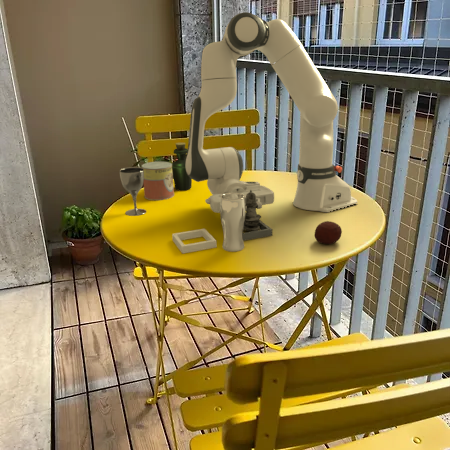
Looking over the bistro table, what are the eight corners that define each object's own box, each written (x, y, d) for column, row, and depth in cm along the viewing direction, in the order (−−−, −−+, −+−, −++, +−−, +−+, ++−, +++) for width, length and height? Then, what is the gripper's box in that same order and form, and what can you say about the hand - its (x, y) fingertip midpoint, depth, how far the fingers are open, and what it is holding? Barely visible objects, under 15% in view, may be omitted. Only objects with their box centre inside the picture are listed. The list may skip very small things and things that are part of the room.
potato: (347, 243, 128) (349, 223, 126) (326, 250, 124) (327, 230, 121) (329, 235, 134) (330, 216, 131) (307, 241, 130) (308, 222, 127)
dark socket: (257, 224, 143) (257, 218, 142) (272, 235, 134) (272, 229, 133) (228, 229, 139) (228, 223, 139) (241, 241, 131) (241, 234, 130)
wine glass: (127, 217, 151) (123, 174, 146) (121, 210, 158) (116, 168, 152) (150, 213, 154) (146, 170, 149) (143, 207, 161) (139, 165, 155)
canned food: (165, 201, 166) (162, 169, 162) (138, 198, 170) (135, 167, 166) (179, 192, 176) (177, 162, 172) (154, 190, 180) (151, 160, 176)
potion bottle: (182, 192, 176) (179, 146, 169) (168, 188, 181) (165, 144, 174) (197, 187, 181) (195, 143, 175) (183, 184, 186) (181, 140, 180)
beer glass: (220, 242, 130) (218, 193, 124) (244, 241, 130) (243, 191, 125) (222, 253, 124) (220, 200, 118) (247, 251, 124) (247, 199, 118)
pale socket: (204, 234, 136) (204, 228, 135) (216, 247, 127) (216, 240, 126) (172, 240, 133) (172, 233, 132) (182, 253, 124) (182, 246, 123)
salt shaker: (261, 224, 139) (261, 186, 134) (260, 231, 133) (260, 192, 129) (242, 224, 139) (241, 186, 135) (240, 231, 134) (240, 192, 129)
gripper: (202, 189, 140) (218, 202, 128) (262, 180, 147) (282, 192, 135) (203, 209, 143) (219, 223, 131) (262, 199, 150) (282, 212, 138)
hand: (252, 207), depth 133 cm, fingers closed on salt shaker, 3 cm apart
